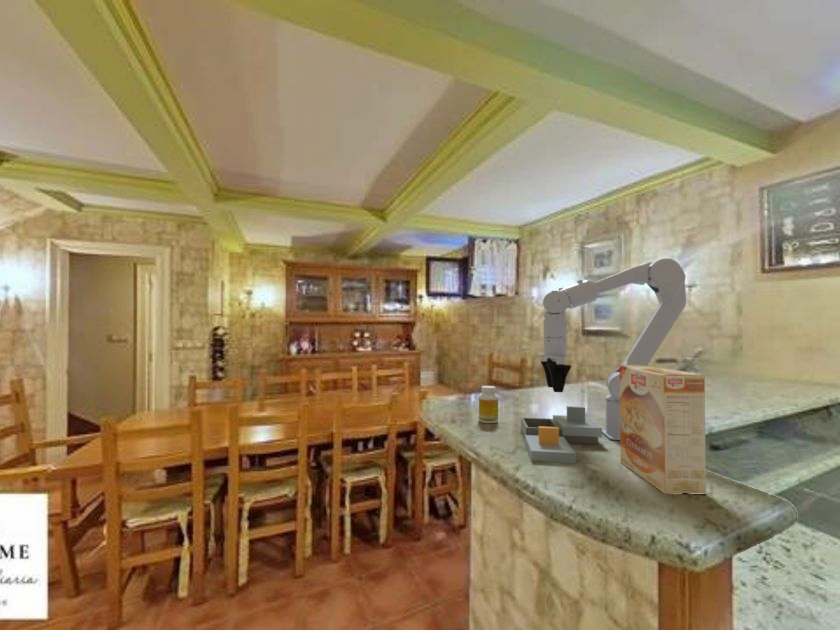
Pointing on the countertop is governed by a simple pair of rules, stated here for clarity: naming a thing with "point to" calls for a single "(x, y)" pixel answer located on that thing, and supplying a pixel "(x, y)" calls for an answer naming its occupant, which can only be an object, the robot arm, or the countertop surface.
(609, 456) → the countertop surface
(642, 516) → the countertop surface
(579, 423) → the lid segment
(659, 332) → the robot arm
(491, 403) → the supplement bottle
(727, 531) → the countertop surface
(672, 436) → the coffeecake box
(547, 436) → the tabbed lid segment
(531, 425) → the parts tub
